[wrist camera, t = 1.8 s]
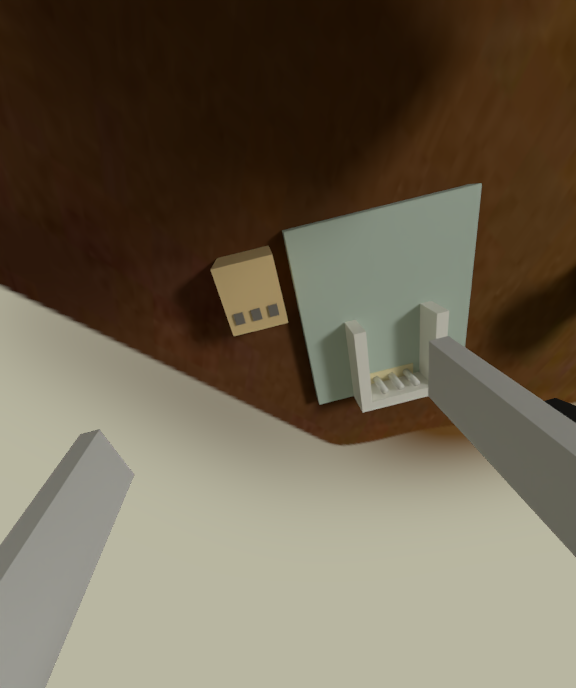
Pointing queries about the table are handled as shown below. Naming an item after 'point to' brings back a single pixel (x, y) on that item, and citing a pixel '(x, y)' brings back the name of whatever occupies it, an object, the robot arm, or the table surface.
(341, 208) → the table surface
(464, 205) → the board
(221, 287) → the plug
